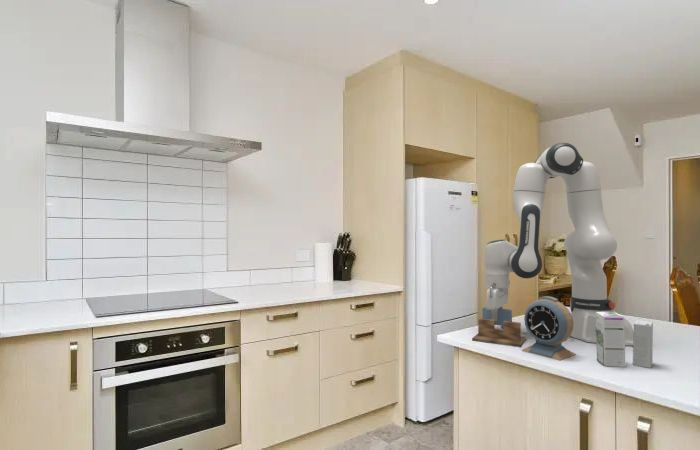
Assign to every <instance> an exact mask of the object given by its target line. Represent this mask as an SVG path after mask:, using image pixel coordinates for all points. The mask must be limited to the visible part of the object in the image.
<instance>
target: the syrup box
mask: <svg viewBox="0 0 700 450" xmlns="http://www.w3.org/2000/svg"><path fill="white" fill-rule="evenodd" d="M615 312H616V311H615ZM615 312H596V343H595V344H596V360H597V361H598V363H600V364H602V365H603V366H605V367H612V368H613V367H615V368H626V365H627V364H626V345H625V330H624V318H625V315H622V314H619V313H618V312H617V313H615Z"/></svg>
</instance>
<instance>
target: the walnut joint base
mask: <svg viewBox="0 0 700 450" xmlns="http://www.w3.org/2000/svg"><path fill="white" fill-rule="evenodd" d="M477 320H478V321H477V322H478V323H477V327H478V328H477V329H478V330H477V331H478V333H477V334H475V335H474V336H473V337H472V338H471V341H474V342H479V343H486V344H495V345H502V346H509V347H518V348H521V347H522V346H523V345H524V344H525V343H526V341H527V337H524V336H522V323H521V322H519V321H518V322H516V321H512V322H511V321H504V329H501V328H497V327H496V325H495V320H492V319H483V318H481V317H478V319H477Z"/></svg>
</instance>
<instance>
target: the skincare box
mask: <svg viewBox="0 0 700 450" xmlns="http://www.w3.org/2000/svg"><path fill="white" fill-rule="evenodd" d="M653 334H654V322H653V321H649V320H638V319H636V320H635V321H634V323H633V346H632V348H633V349H632V365H633V366H637V367H641V368H648V369H649V368H651V367H652V364H653V351H654V350H653V347H654V345H653V340H654V338H653V336H654V335H653Z"/></svg>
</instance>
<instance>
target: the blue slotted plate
mask: <svg viewBox="0 0 700 450" xmlns="http://www.w3.org/2000/svg"><path fill="white" fill-rule="evenodd" d="M481 309H482V310H481V312H482V318H483V319H492V314H491V310H487V309H486V306H483V307H482V308H481ZM497 316H498V320H497V321H495V326H501V327H500V329H504V321H511V322H513V309H507V308H503V309H498V312H497Z"/></svg>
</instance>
